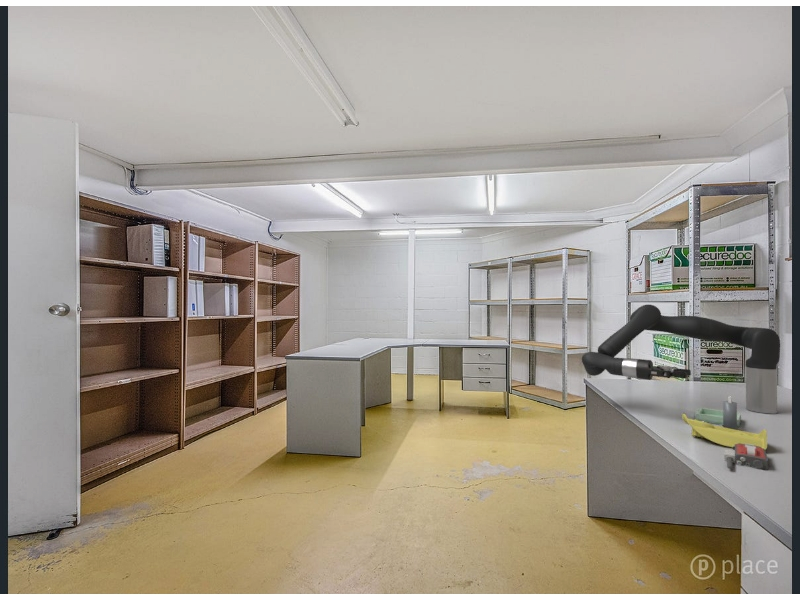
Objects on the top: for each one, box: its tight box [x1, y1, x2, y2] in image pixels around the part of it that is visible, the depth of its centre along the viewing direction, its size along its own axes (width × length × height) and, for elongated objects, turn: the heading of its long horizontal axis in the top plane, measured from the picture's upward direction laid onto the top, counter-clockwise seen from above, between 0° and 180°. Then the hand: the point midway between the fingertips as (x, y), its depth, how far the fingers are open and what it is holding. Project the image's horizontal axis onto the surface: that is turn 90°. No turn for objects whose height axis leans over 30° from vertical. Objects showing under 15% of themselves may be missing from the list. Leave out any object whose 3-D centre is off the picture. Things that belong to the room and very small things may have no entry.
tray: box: [694, 407, 742, 429], centre depth 143 cm, size 12×12×3 cm
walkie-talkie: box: [723, 443, 770, 471], centre depth 103 cm, size 9×4×20 cm
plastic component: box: [681, 413, 768, 450], centre depth 120 cm, size 20×7×10 cm
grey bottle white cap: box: [722, 395, 738, 430], centre depth 133 cm, size 4×4×11 cm
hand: (688, 374), depth 141 cm, fingers open, 8 cm apart
